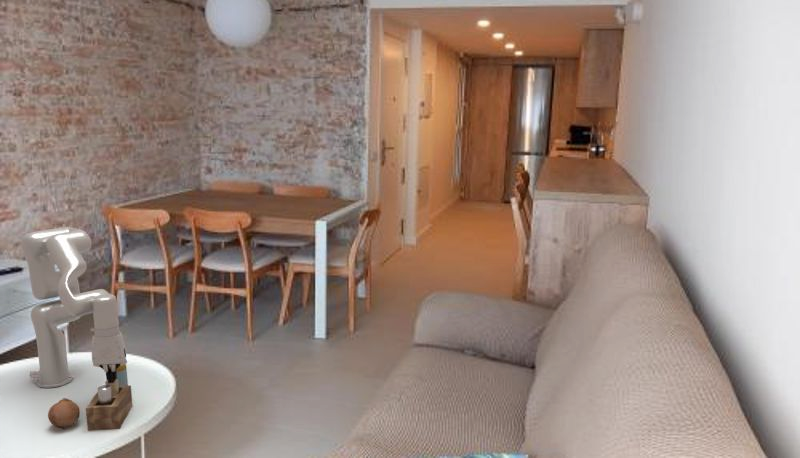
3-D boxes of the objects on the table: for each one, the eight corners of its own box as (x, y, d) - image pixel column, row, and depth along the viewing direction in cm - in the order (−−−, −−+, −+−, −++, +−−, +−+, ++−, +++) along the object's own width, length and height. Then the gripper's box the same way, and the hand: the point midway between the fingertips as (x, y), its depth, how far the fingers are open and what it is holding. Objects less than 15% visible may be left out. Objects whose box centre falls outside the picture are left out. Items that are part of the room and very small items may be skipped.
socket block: (87, 430, 212) (85, 408, 211) (103, 408, 228) (100, 386, 226) (119, 428, 214) (117, 406, 212) (132, 406, 229) (130, 385, 228)
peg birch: (105, 404, 222) (103, 383, 220) (109, 399, 225) (107, 379, 224) (117, 403, 222) (116, 383, 221) (121, 398, 226) (119, 378, 224)
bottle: (121, 398, 235) (117, 359, 232) (103, 396, 237) (100, 358, 234) (132, 390, 242) (129, 352, 239) (115, 388, 243) (112, 350, 240)
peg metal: (97, 411, 214) (95, 390, 212) (101, 406, 217) (99, 385, 216) (110, 411, 214) (108, 390, 213) (114, 405, 218) (112, 384, 216)
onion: (65, 429, 219) (66, 399, 222) (86, 426, 216) (86, 395, 218) (41, 432, 211) (41, 400, 213) (62, 429, 207) (62, 397, 210)
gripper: (80, 335, 214) (85, 387, 218) (127, 333, 216) (131, 384, 220) (87, 327, 221) (92, 378, 225) (133, 325, 223) (137, 375, 227)
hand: (111, 381), depth 222 cm, fingers closed
